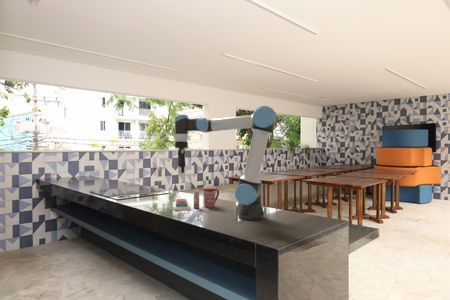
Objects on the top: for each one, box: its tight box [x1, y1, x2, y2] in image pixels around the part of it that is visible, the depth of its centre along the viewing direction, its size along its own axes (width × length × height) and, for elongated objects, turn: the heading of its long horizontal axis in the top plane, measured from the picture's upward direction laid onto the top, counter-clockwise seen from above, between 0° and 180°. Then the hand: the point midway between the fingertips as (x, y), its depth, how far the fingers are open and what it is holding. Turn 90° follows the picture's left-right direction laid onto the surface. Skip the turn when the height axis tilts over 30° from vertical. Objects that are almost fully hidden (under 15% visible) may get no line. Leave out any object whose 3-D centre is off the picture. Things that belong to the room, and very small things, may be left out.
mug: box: [202, 186, 220, 209], centre depth 210 cm, size 13×9×14 cm
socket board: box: [172, 198, 191, 211], centre depth 208 cm, size 11×22×4 cm, turn 10°
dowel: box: [193, 189, 200, 210], centre depth 204 cm, size 4×4×12 cm
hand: (181, 177), depth 175 cm, fingers open, 13 cm apart
